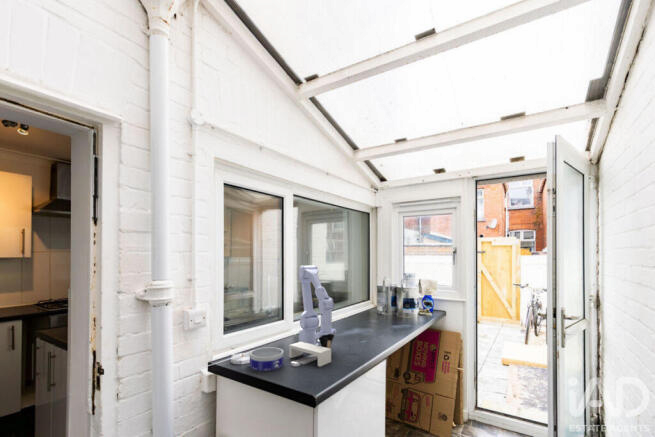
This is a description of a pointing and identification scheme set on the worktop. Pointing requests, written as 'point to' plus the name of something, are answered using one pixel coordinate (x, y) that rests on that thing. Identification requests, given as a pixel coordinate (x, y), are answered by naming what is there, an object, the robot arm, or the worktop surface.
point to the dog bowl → (266, 359)
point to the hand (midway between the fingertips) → (326, 349)
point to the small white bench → (311, 352)
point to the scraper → (312, 356)
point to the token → (295, 363)
